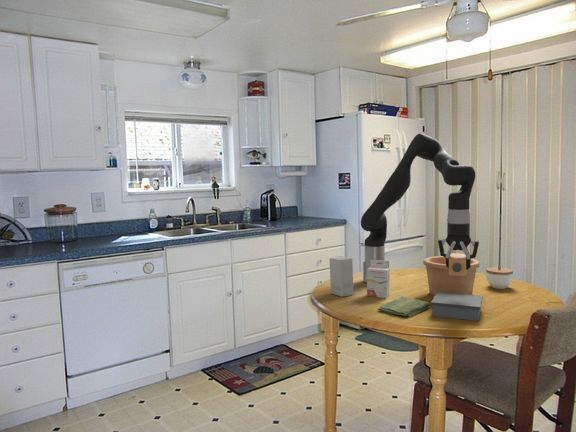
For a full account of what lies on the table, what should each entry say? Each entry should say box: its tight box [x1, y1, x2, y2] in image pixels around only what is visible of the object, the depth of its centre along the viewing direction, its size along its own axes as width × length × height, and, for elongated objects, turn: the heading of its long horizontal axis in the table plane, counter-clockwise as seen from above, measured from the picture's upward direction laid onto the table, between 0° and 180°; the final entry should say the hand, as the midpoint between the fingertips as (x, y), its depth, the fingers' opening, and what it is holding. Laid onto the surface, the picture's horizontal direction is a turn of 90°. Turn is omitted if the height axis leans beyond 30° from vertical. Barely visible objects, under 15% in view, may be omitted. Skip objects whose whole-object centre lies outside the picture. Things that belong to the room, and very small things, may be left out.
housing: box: [449, 252, 467, 276], centre depth 164 cm, size 11×6×6 cm, turn 155°
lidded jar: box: [485, 265, 514, 290], centre depth 200 cm, size 11×11×9 cm
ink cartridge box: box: [366, 260, 391, 299], centre depth 189 cm, size 9×5×15 cm, turn 65°
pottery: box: [422, 255, 480, 298], centre depth 189 cm, size 22×22×14 cm
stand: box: [430, 292, 484, 322], centre depth 165 cm, size 16×16×5 cm
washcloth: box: [377, 295, 431, 318], centre depth 169 cm, size 13×18×3 cm
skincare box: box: [329, 256, 354, 298], centre depth 193 cm, size 8×7×16 cm
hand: (457, 268), depth 164 cm, fingers closed on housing, 5 cm apart
